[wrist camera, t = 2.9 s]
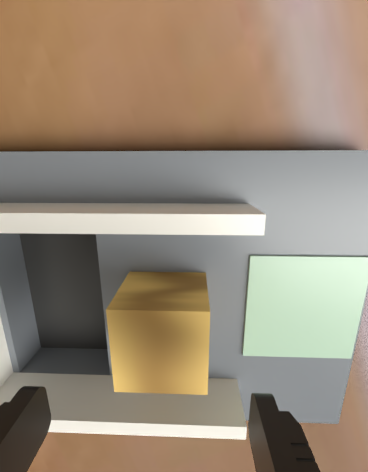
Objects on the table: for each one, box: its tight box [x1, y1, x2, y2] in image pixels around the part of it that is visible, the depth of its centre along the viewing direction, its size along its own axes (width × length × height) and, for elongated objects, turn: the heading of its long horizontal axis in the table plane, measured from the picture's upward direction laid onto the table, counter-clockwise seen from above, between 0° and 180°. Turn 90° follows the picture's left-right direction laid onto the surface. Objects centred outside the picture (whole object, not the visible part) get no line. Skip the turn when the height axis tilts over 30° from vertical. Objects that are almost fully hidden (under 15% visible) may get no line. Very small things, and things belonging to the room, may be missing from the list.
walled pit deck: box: [0, 150, 368, 440], centre depth 16 cm, size 26×20×6 cm
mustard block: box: [106, 272, 210, 395], centre depth 15 cm, size 5×5×4 cm
